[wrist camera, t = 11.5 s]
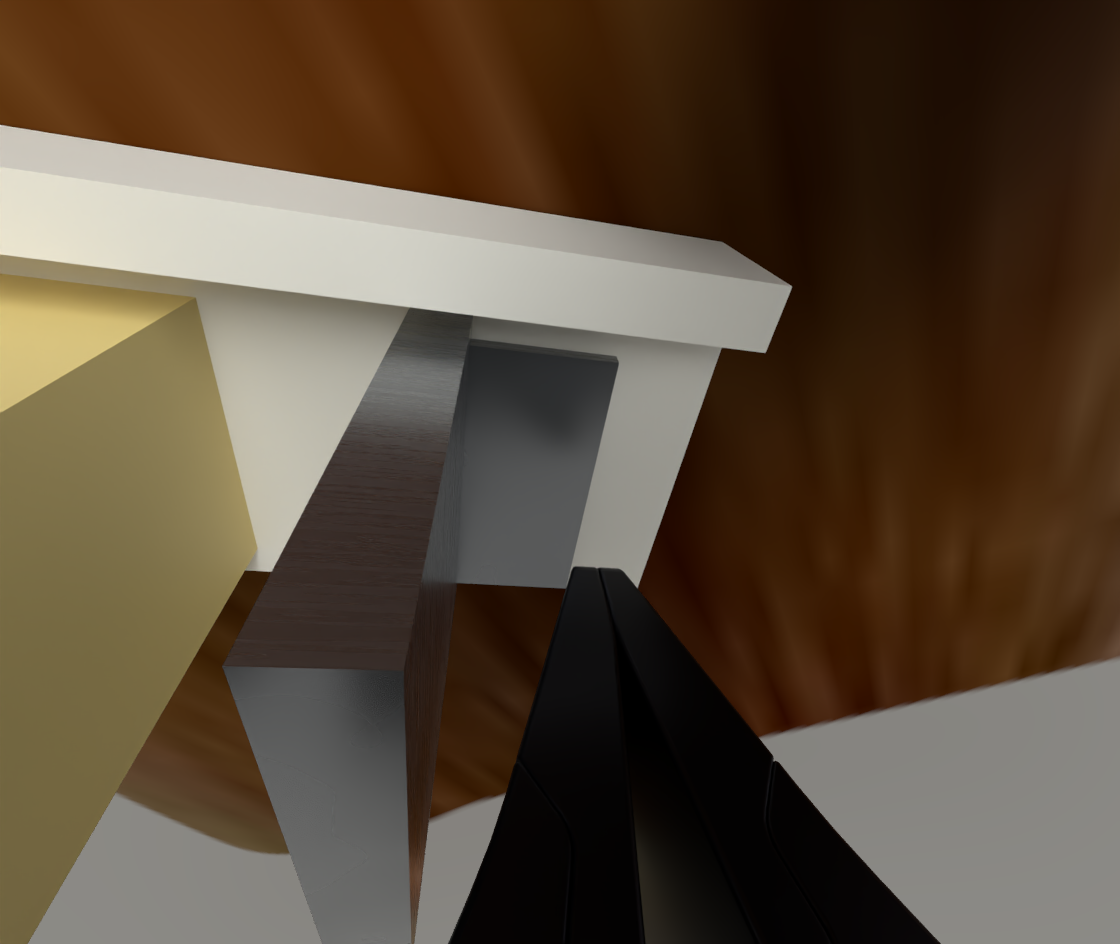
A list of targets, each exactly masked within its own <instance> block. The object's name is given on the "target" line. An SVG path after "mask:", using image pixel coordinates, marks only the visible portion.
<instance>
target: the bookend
mask: <svg viewBox="0 0 1120 944" xmlns="http://www.w3.org/2000/svg"><path fill="white" fill-rule="evenodd" d="M472 326H473V315H466V314H458V313H451V312H443V311H435V310H427V309H420V308H412V307H410V308H409V310H408V312H407V314H406V316H405V318H404V320H403V321H402V323H401V325H400V327H399V329H398V331H397V333H396V335H395V337H394V339H393V341H392V342H391V344H390V346H389V348H388V350H387V352H386V354H385V356H384V358H383V360H382V362H381V364H380V365H379V367H378V369H377V371H376V373H375V375H374V377H373V379H372V381H371V383H370V385H369V386H368V388H367V390H366V392H365V394H364V396H363V398H362V400H361V402H360V404H359V406H358V408H357V409H356V411H355V413H354V415H353V417H352V419H351V421H350V423H349V425H348V427H347V429H346V430H345V432H344V434H343V436H342V438H341V440H340V442H339V444H338V446H337V448H336V450H335V452H334V453H333V455H332V457H331V459H330V461H329V463H328V465H327V467H326V469H325V471H324V473H323V474H322V476H321V478H320V480H319V482H318V484H317V486H316V488H315V490H314V492H313V494H312V496H311V497H310V499H309V501H308V503H307V505H306V507H305V509H304V511H303V513H302V515H301V517H300V518H299V520H298V522H297V524H296V526H295V528H294V530H293V532H292V534H291V536H290V538H289V539H288V541H287V543H286V545H285V547H284V549H283V551H282V553H281V555H280V557H279V559H278V561H277V562H276V564H275V566H274V568H273V570H272V572H271V574H270V576H269V578H268V580H267V582H266V583H265V585H264V587H263V589H262V591H261V593H260V595H259V597H258V599H257V601H256V603H255V605H254V606H253V608H252V610H251V612H250V614H249V616H248V618H247V620H246V622H245V624H244V626H243V627H242V629H241V631H240V633H239V635H238V637H237V639H236V641H235V643H234V645H233V647H232V649H231V650H230V652H229V654H228V656H227V658H226V660H225V662H224V664H223V666H222V667H223V670H224V672H225V675H226V678H227V681H228V684H229V686H230V689H231V692H232V695H233V697H234V700H235V703H236V706H237V708H238V711H239V714H240V717H241V720H242V722H243V725H244V728H245V731H246V733H247V736H248V739H249V742H250V745H251V747H252V750H253V753H254V756H255V758H256V761H257V764H258V767H259V770H260V772H261V775H262V778H263V781H264V783H265V786H266V789H267V792H268V794H269V797H270V800H271V803H272V806H273V808H274V811H275V814H276V817H277V819H278V822H279V825H280V828H281V831H282V833H283V836H284V839H285V842H286V844H287V847H288V850H289V853H290V855H291V858H292V861H293V864H294V866H295V869H296V872H297V875H298V878H299V880H300V883H301V886H302V889H303V892H304V894H305V897H306V900H307V902H308V905H309V908H310V910H311V914H312V917H313V919H314V922H315V925H316V928H317V930H318V933H319V936H320V939H321V941H322V944H414V941H415V933H416V924H417V915H418V907H419V899H420V891H421V882H422V874H423V865H424V856H425V848H426V840H427V832H428V823H429V815H430V806H431V798H432V790H433V781H434V773H435V764H436V756H437V748H438V739H439V731H440V722H441V714H442V706H443V697H444V689H445V680H446V672H447V664H448V655H449V647H450V638H451V630H452V622H453V613H454V605H455V596H456V588H457V583H468V584H488V585H507V586H527V587H546V588H566V586H567V582H568V578H569V574H570V569H571V565H572V561H573V557H574V553H575V548H576V544H577V540H578V536H579V531H580V527H581V523H582V519H583V514H584V510H585V506H586V502H587V497H588V493H589V489H590V485H591V480H592V476H593V472H594V468H595V464H596V459H597V455H598V451H599V447H600V442H601V438H602V434H603V430H604V425H605V421H606V417H607V413H608V408H609V404H610V400H611V396H612V392H613V387H614V383H615V379H616V375H617V370H618V366H619V361H618V359H617V357H616V356H611V355H602V354H594V353H586V352H578V351H570V350H562V349H553V348H545V347H537V346H529V345H521V344H512V343H504V342H496V341H488V340H480V339H472Z"/></svg>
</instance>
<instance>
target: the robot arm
mask: <svg viewBox="0 0 1120 944" xmlns="http://www.w3.org/2000/svg"><path fill="white" fill-rule="evenodd" d="M773 759H774V758H773V755H772V754H771V753H770V751H769V750H768V749H767V748H766V746H765V745H764V744H763V743H762V741H761V740H760V739H759V738H758V736H757V735H756V734H755V733H754V732H753V730H752V729H751V728H750V727H749V725H748V724H747V723H746V722H745V720H744V719H743V718H742V717H741V715H740V714H739V713H738V712H737V711H736V709H735V708H734V707H733V706H732V704H731V703H730V702H729V701H728V699H727V698H726V697H725V696H724V695H723V693H722V692H721V691H720V690H719V688H718V687H717V686H716V685H715V683H714V682H713V681H712V680H711V678H710V677H709V676H708V675H707V674H706V672H705V671H704V670H703V669H702V667H701V666H700V665H699V664H698V662H697V661H696V660H695V659H694V657H693V656H692V655H691V654H690V653H689V651H688V650H687V649H686V648H685V646H684V645H683V644H682V643H681V641H680V640H679V639H678V638H677V636H676V635H675V634H674V633H673V632H672V630H671V629H670V628H669V627H668V625H667V624H666V623H665V622H664V620H663V619H662V618H661V617H660V616H659V614H658V613H657V612H656V611H655V609H654V608H653V607H652V606H651V604H650V603H649V602H648V601H647V599H646V598H645V597H644V596H643V595H642V593H641V592H640V591H639V590H638V588H637V587H636V586H635V585H634V583H633V582H632V581H631V580H630V578H629V577H628V576H627V575H626V574H625V572H624V571H623V570H621V569H619V568H605V567H599V568H596V567H585V566H575V567H573V568H572V570H571V574H570V577H569V580H568V584H567V587H566V591H565V594H564V598H563V601H562V604H561V608H560V611H559V615H558V618H557V622H556V625H555V628H554V632H553V635H552V639H551V642H550V646H549V649H548V652H547V656H546V659H545V663H544V666H543V670H542V673H541V676H540V680H539V683H538V687H537V690H536V693H535V697H534V700H533V704H532V707H531V711H530V714H529V717H528V721H527V724H526V728H525V731H524V735H523V738H522V741H521V745H520V748H519V752H518V755H517V759H516V763H515V765H514V768H513V771H512V775H511V778H510V781H509V785H508V788H507V792H506V795H505V798H504V801H503V804H502V807H501V811H500V813H499V816H498V819H497V823H496V826H495V829H494V832H493V835H492V838H491V841H490V843H489V846H488V849H487V851H486V853H485V856H484V858H483V861H482V864H481V866H480V869H479V871H478V874H477V876H476V879H475V881H474V884H473V886H472V889H471V891H470V894H469V896H468V898H467V901H466V903H465V906H464V908H463V911H462V913H461V915H460V917H459V920H458V922H457V924H456V927H455V929H454V932H453V934H452V936H451V938H450V941H449V943H448V944H941V943H940V942H939V941H938V940H937V939H936V938H935V937H934V936H933V935H932V934H931V933H930V932H929V931H928V930H927V929H926V928H925V927H924V925H923V924H922V923H921V922H920V921H919V920H918V919H917V918H916V917H915V916H914V915H913V914H912V913H911V912H910V911H909V910H908V908H907V907H906V906H904V904H903V903H902V902H901V901H900V900H899V899H898V898H897V897H896V896H895V895H894V894H893V893H892V891H891V890H890V889H889V888H888V887H887V886H886V885H885V884H884V883H883V882H882V881H881V880H880V879H879V878H878V877H877V876H876V874H875V873H874V872H873V871H872V870H871V869H870V868H869V867H868V866H867V865H866V863H865V862H864V861H863V860H862V859H861V858H860V857H859V856H858V855H857V854H856V853H855V851H854V850H853V849H852V848H851V847H850V846H849V845H848V844H847V843H846V841H844V839H843V838H842V837H841V836H840V835H839V834H838V833H837V832H836V831H835V829H833V827H832V826H831V825H830V824H829V822H828V821H827V820H826V819H825V818H824V816H823V815H822V814H821V813H820V812H819V810H818V809H817V808H816V807H815V806H814V805H813V803H812V802H811V801H810V800H809V799H808V797H807V796H806V795H805V794H804V793H803V792H802V790H801V789H800V788H799V787H798V786H797V784H796V783H795V782H794V781H793V779H792V778H791V777H790V776H789V774H788V773H787V772H786V771H785V770H784V768H783V767H782V766H781V765H780V763H779V762H777V761H774V762H773Z"/></svg>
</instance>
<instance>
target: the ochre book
mask: <svg viewBox="0 0 1120 944" xmlns="http://www.w3.org/2000/svg"><path fill="white" fill-rule="evenodd" d="M257 549H258V548H257V544H256V540H255V536H254V532H253V528H252V524H251V520H250V516H249V512H248V508H247V503H246V499H245V495H244V491H243V487H242V483H241V479H240V475H239V471H238V467H237V463H236V459H235V455H234V451H233V447H232V443H231V439H230V435H229V430H228V426H227V422H226V418H225V414H224V410H223V406H222V402H221V398H220V394H219V390H218V386H217V382H216V378H215V374H214V370H213V366H212V362H211V357H210V353H209V349H208V345H207V341H206V337H205V333H204V329H203V325H202V321H201V317H200V313H199V309H198V305H197V301H196V297H189V296H181V295H173V294H165V293H156V292H148V291H140V290H132V289H124V288H115V287H107V286H99V285H91V284H83V283H74V282H66V281H58V280H50V279H42V278H33V277H25V276H17V275H9V274H1V273H0V944H28V942H29V941H30V939H31V937H32V935H33V934H34V932H35V930H36V928H37V927H38V925H39V923H40V921H41V920H42V918H43V916H44V915H45V913H46V911H47V909H48V908H49V906H50V904H51V903H52V901H53V899H54V897H55V896H56V894H57V892H58V891H59V889H60V887H61V885H62V884H63V882H64V880H65V879H66V877H67V875H68V873H69V872H70V870H71V868H72V867H73V865H74V863H75V862H76V860H77V858H78V856H79V855H80V853H81V851H82V849H83V848H84V846H85V844H86V842H87V841H88V839H89V837H90V836H91V834H92V832H93V831H94V829H95V827H96V825H97V824H98V822H99V820H100V819H101V817H102V815H103V813H104V811H105V810H106V808H107V807H108V805H109V803H110V801H111V800H112V798H113V796H114V795H115V793H116V791H117V789H118V788H119V786H120V784H121V782H122V781H123V779H124V777H125V776H126V774H127V772H128V770H129V769H130V767H131V765H132V764H133V762H134V760H135V758H136V757H137V755H138V753H139V752H140V750H141V748H142V746H143V745H144V743H145V741H146V740H147V738H148V736H149V734H150V733H151V731H152V729H153V728H154V726H155V724H156V722H157V721H158V719H159V717H160V715H161V714H162V712H163V710H164V709H165V707H166V705H167V703H168V702H169V700H170V698H171V697H172V695H173V693H174V691H175V690H176V688H177V686H178V685H179V683H180V681H181V679H182V678H183V676H184V674H185V673H186V671H187V669H188V667H189V666H190V664H191V662H192V661H193V659H194V657H195V655H196V654H197V652H198V650H199V648H200V647H201V645H202V643H203V642H204V640H205V638H206V636H207V635H208V633H209V631H210V630H211V628H212V626H213V624H214V623H215V621H216V619H217V618H218V616H219V614H220V612H221V611H222V609H223V607H224V606H225V604H226V602H227V600H228V599H229V597H230V595H231V594H232V592H233V590H234V588H235V587H236V585H237V583H238V582H239V580H240V578H241V576H242V575H243V573H244V571H245V569H246V568H247V566H248V564H249V563H250V561H251V559H252V557H253V556H254V554H255V552H256V551H257Z"/></svg>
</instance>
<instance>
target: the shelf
mask: <svg viewBox="0 0 1120 944" xmlns="http://www.w3.org/2000/svg"><path fill="white" fill-rule="evenodd" d="M0 273H1V274H9V275H17V276H25V277H33V278H42V279H50V280H58V281H66V282H74V283H83V284H91V285H99V286H107V287H115V288H124V289H132V290H140V291H148V292H156V293H165V294H173V295H181V296H189V297H196V301H197V305H198V309H199V313H200V317H201V321H202V325H203V329H204V333H205V337H206V341H207V345H208V349H209V353H210V357H211V362H212V366H213V370H214V374H215V378H216V382H217V386H218V390H219V394H220V398H221V402H222V406H223V410H224V414H225V418H226V422H227V426H228V430H229V435H230V439H231V443H232V447H233V451H234V455H235V459H236V463H237V467H238V471H239V475H240V479H241V483H242V487H243V491H244V495H245V499H246V503H247V508H248V512H249V516H250V520H251V524H252V528H253V532H254V536H255V540H256V544H257V548H258V549H257V551H256V552H255V554H254V556H253V557H252V559H251V561H250V563H249V564H248V566H247V568H246V569H245V570H248V571H267V572H272V570H273V568H274V566H275V564H276V562H277V561H278V559H279V557H280V555H281V553H282V551H283V549H284V547H285V545H286V543H287V541H288V539H289V538H290V536H291V534H292V532H293V530H294V528H295V526H296V524H297V522H298V520H299V518H300V517H301V515H302V513H303V511H304V509H305V507H306V505H307V503H308V501H309V499H310V497H311V496H312V494H313V492H314V490H315V488H316V486H317V484H318V482H319V480H320V478H321V476H322V474H323V473H324V471H325V469H326V467H327V465H328V463H329V461H330V459H331V457H332V455H333V453H334V452H335V450H336V448H337V446H338V444H339V442H340V440H341V438H342V436H343V434H344V432H345V430H346V429H347V427H348V425H349V423H350V421H351V419H352V417H353V415H354V413H355V411H356V409H357V408H358V406H359V404H360V402H361V400H362V398H363V396H364V394H365V392H366V390H367V388H368V386H369V385H370V383H371V381H372V379H373V377H374V375H375V373H376V371H377V369H378V367H379V365H380V364H381V362H382V360H383V358H384V356H385V354H386V352H387V350H388V348H389V346H390V344H391V342H392V341H393V339H394V337H395V335H396V333H397V331H398V329H399V327H400V325H401V323H402V321H403V320H404V318H405V316H406V314H407V312H408V310H409V308H410V307H412V308H420V309H427V310H435V311H443V312H451V313H458V314H466V315H473V326H472V339H480V340H488V341H496V342H504V343H512V344H521V345H529V346H537V347H545V348H553V349H562V350H570V351H578V352H586V353H594V354H602V355H611V356H616V357H617V359H618V361H619V366H618V370H617V375H616V379H615V383H614V387H613V392H612V396H611V400H610V404H609V408H608V413H607V417H606V421H605V425H604V430H603V434H602V438H601V442H600V447H599V451H598V455H597V459H596V464H595V468H594V472H593V476H592V480H591V485H590V489H589V493H588V497H587V502H586V506H585V510H584V514H583V519H582V523H581V527H580V531H579V536H578V540H577V544H576V548H575V553H574V557H573V561H572V565H571V569H570V574H571V570H572V568H573V567H575V566H585V567H596V568H599V567H605V568H619V569H621V570H623V571H624V572H625V574H626V575H627V576H628V577H629V578H630V580H631V581H632V582H633V583H634V585H635V586H636V587H637V588H638V585H639V582H640V580H641V577H642V574H643V571H644V568H645V565H646V562H647V560H648V557H649V554H650V551H651V548H652V545H653V542H654V540H655V537H656V534H657V531H658V528H659V525H660V523H661V520H662V517H663V514H664V511H665V508H666V505H667V503H668V500H669V497H670V494H671V491H672V488H673V485H674V483H675V480H676V477H677V474H678V471H679V468H680V465H681V463H682V460H683V457H684V454H685V451H686V448H687V446H688V443H689V440H690V437H691V434H692V431H693V428H694V426H695V423H696V420H697V417H698V414H699V411H700V408H701V406H702V403H703V400H704V397H705V394H706V391H707V388H708V386H709V383H710V380H711V377H712V374H713V371H714V368H715V366H716V363H717V360H718V357H719V354H720V351H721V349H722V348H730V349H738V350H745V351H753V352H761V353H766V351H767V348H768V346H769V343H770V341H771V338H772V336H773V333H774V331H775V328H776V326H777V323H778V321H779V318H780V316H781V313H782V311H783V308H784V306H785V304H786V301H787V299H788V296H789V294H790V291H791V289H792V286H791V285H789V284H788V283H786V282H784V281H783V280H781V279H780V278H778V277H777V276H775V275H773V274H772V273H770V272H769V271H767V270H766V269H764V268H762V267H761V266H759V265H758V264H756V263H755V262H753V261H751V260H750V259H748V258H747V257H745V256H744V255H742V254H740V253H739V252H737V251H736V250H734V249H733V248H731V247H729V246H728V245H726V244H725V243H723V242H720V241H714V240H707V239H701V238H695V237H689V236H683V235H676V234H670V233H664V232H658V231H652V230H646V229H639V228H633V227H627V226H621V225H615V224H608V223H602V222H596V221H590V220H584V219H578V218H571V217H565V216H559V215H553V214H547V213H540V212H534V211H528V210H522V209H516V208H510V207H503V206H497V205H491V204H485V203H479V202H472V201H466V200H460V199H454V198H448V197H442V196H435V195H429V194H423V193H417V192H411V191H405V190H398V189H392V188H386V187H380V186H374V185H367V184H361V183H355V182H349V181H343V180H337V179H330V178H324V177H318V176H312V175H306V174H299V173H293V172H287V171H281V170H275V169H269V168H262V167H256V166H250V165H244V164H238V163H231V162H225V161H219V160H213V159H207V158H201V157H194V156H188V155H182V154H176V153H170V152H163V151H157V150H151V149H145V148H139V147H133V146H126V145H120V144H114V143H108V142H102V141H96V140H89V139H83V138H77V137H71V136H65V135H58V134H52V133H46V132H40V131H34V130H28V129H21V128H15V127H9V126H3V125H0ZM570 574H569V577H570ZM568 580H569V578H568ZM567 584H568V582H567ZM566 587H567V586H566Z"/></svg>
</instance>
